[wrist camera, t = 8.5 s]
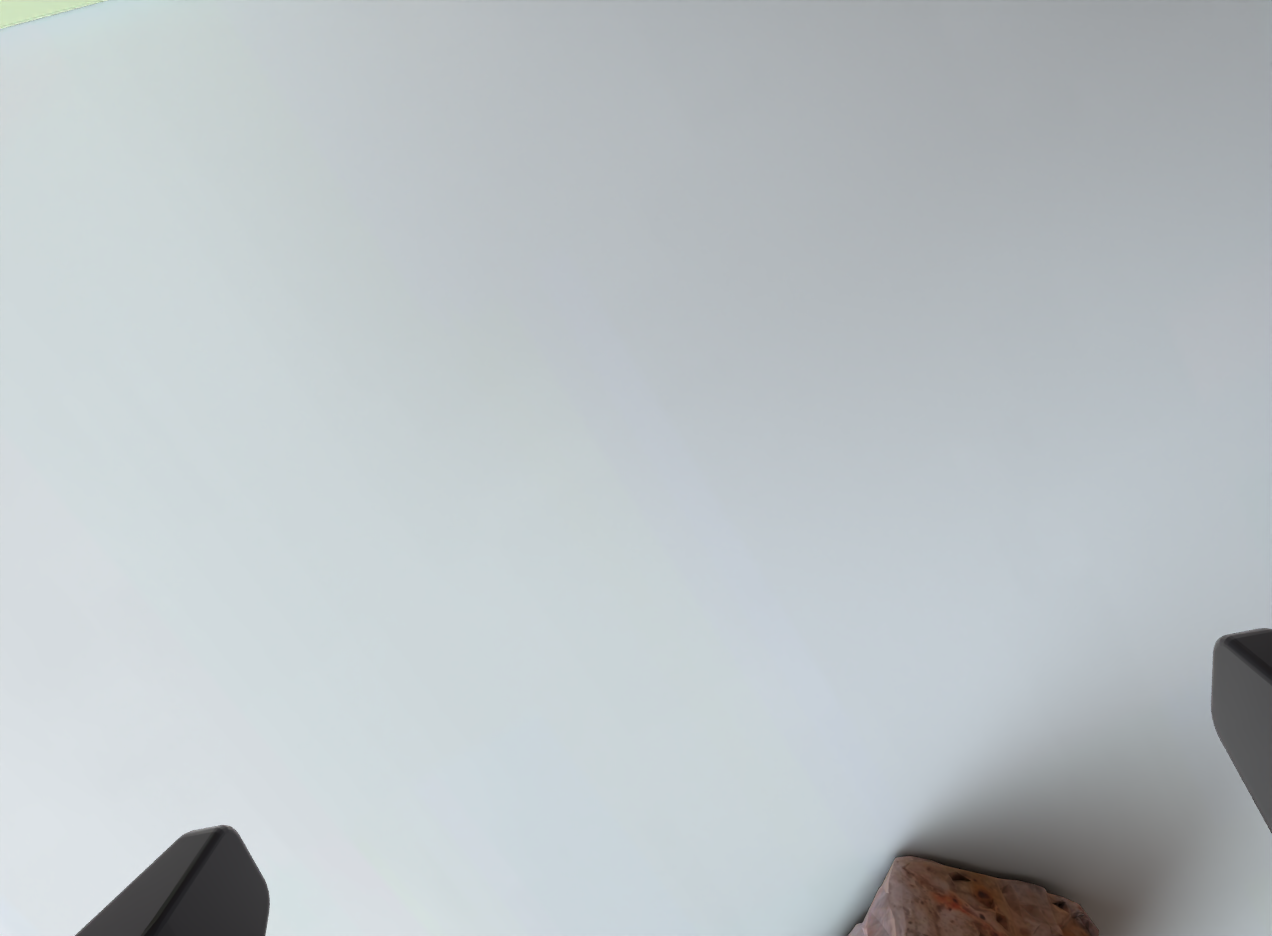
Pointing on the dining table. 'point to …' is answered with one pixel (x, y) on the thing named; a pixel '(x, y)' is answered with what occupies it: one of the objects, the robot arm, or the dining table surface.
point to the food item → (966, 905)
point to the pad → (36, 9)
